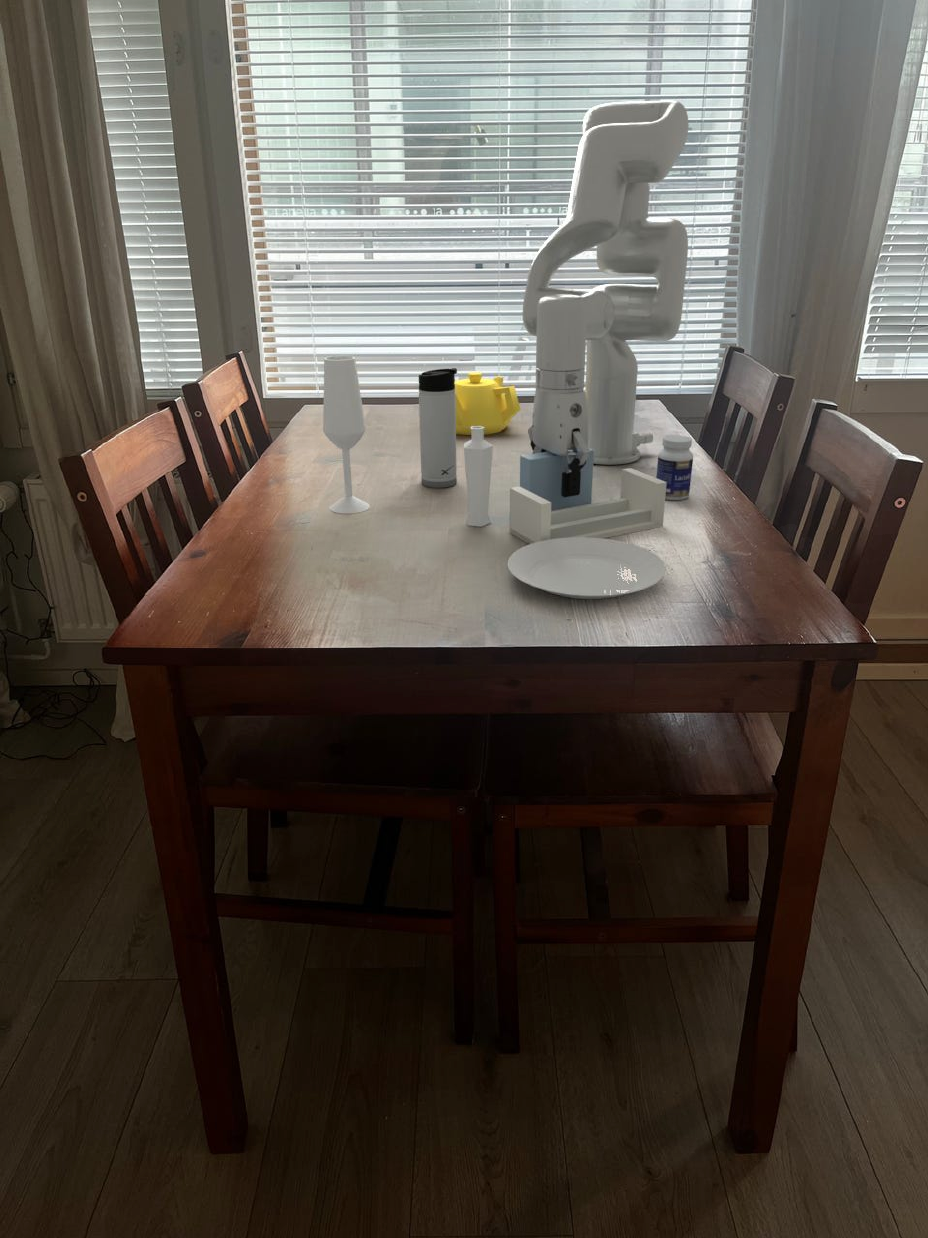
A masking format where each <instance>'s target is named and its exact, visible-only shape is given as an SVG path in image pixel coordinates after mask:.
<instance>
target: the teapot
mask: <svg viewBox="0 0 928 1238" xmlns="http://www.w3.org/2000/svg"><path fill="white" fill-rule="evenodd" d="M482 377H483V373H482V372H477V371H475V372H474V371H472V372H469V373H467V378H464V379H463V378H462V379H459V380H455V383H454V384H455V404H456V435H463V436H472V435H471V426H482V427H485V428H484V436H486V435H487V436H488V435H492V434H493V435H494V434H498V433H500V432H503V431H504V430H505V429H506V427H508V425H509V424H510V423H511V420H512V419H513V418H514V417H515V415H517V414H518V413H519V412H520V411H521V406H520V402H519V399H518V394H517V390H516V387H515V385H511V386H504V385H503V384H504V377H503V376H496V377H493V379H490V378H489V379H488V378H482ZM502 430H503V431H502Z"/></svg>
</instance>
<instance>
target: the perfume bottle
mask: <svg viewBox="0 0 928 1238" xmlns="http://www.w3.org/2000/svg"><path fill="white" fill-rule="evenodd" d="M484 428H485V427H482V426H471V435H470V436H471V439H469V440H468V441H466V442H464V443H463V456H464V467H465V468H464V469H465V470H464V471H465V480H466V481H465V483H466V484H465V485H466V497H467V499H466V500H467V509H468V511H467V512H468V513H467V518H466V526H471V527H480V528H481V527H485V526H487V525H488V524H490V523H491V520H490V516H489V505H490V504H489V503H490V492H491V491H490V490H491V489H490V488H491V476H492V466H493V465H492V463H493V462H492V461H493V452H494V450H493V449H494V445H493V444H491V443H489V442H488V441H486V440H484V439H485V438H484V437H485V435H484Z"/></svg>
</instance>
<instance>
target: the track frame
mask: <svg viewBox="0 0 928 1238" xmlns="http://www.w3.org/2000/svg"><path fill="white" fill-rule="evenodd" d="M620 483H621V484H620V498H616V499H610V500H606V501H605V500H604V501H600V502H594V503H590V504H584V505H579V506H573V507H568V508H562V509H557V510H551V502H549V501H547V500H545V499H543V498H541V497H539V496H537V495H535V494H533V493H531V492H529V491H528V490H526V489H524V488H522V487H520V485H519V486H513V487H509V533H510V534H512V535H513V536H515V537H516V538H518V539H519V540H521V541H523V542H525V543H526V544H527V545H530V544H532V543H536V542H540V541H544V540H549V539H558V538H572V537H587V538H602V539H608V538H611V537H617V536H621V535H625V534H626V535H627V534H631V533H637V532H642V531H646V530H652V529H656V528H661V527H664V517H665V516H664V515H665V507H666V506H665V504H666V503H665V502H666V500H665V495H666V483H667V482H665V481H662V480H660V479H657V478H656V477H654V476H651V475H650V474H646V473H644V472H642V471H638V470H636V469H635V468H631V467H628V468H623V469H622V470H621V482H620Z"/></svg>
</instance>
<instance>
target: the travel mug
mask: <svg viewBox="0 0 928 1238" xmlns="http://www.w3.org/2000/svg"><path fill="white" fill-rule="evenodd" d="M457 373H458V369H457V368H456V367H451V368H438V369H433V370H432V369H431V370H427V371H426V370H425V371H424V372H421V374H419V375H418V413H419V415H418V416H419V442H420V445H419V446H420V448H419V449H420V468H421V469H420V474H421V479H420V480H421V484H422V485H423V486H424V487H427V488H432V489H442V488H443V489H445V488H450V487H452V486H454V485H456V484H457V482H458V481H457V476H458V475H457V434H456V404H455V384H454V383H455V381H456V379H455V375H457Z"/></svg>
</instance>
